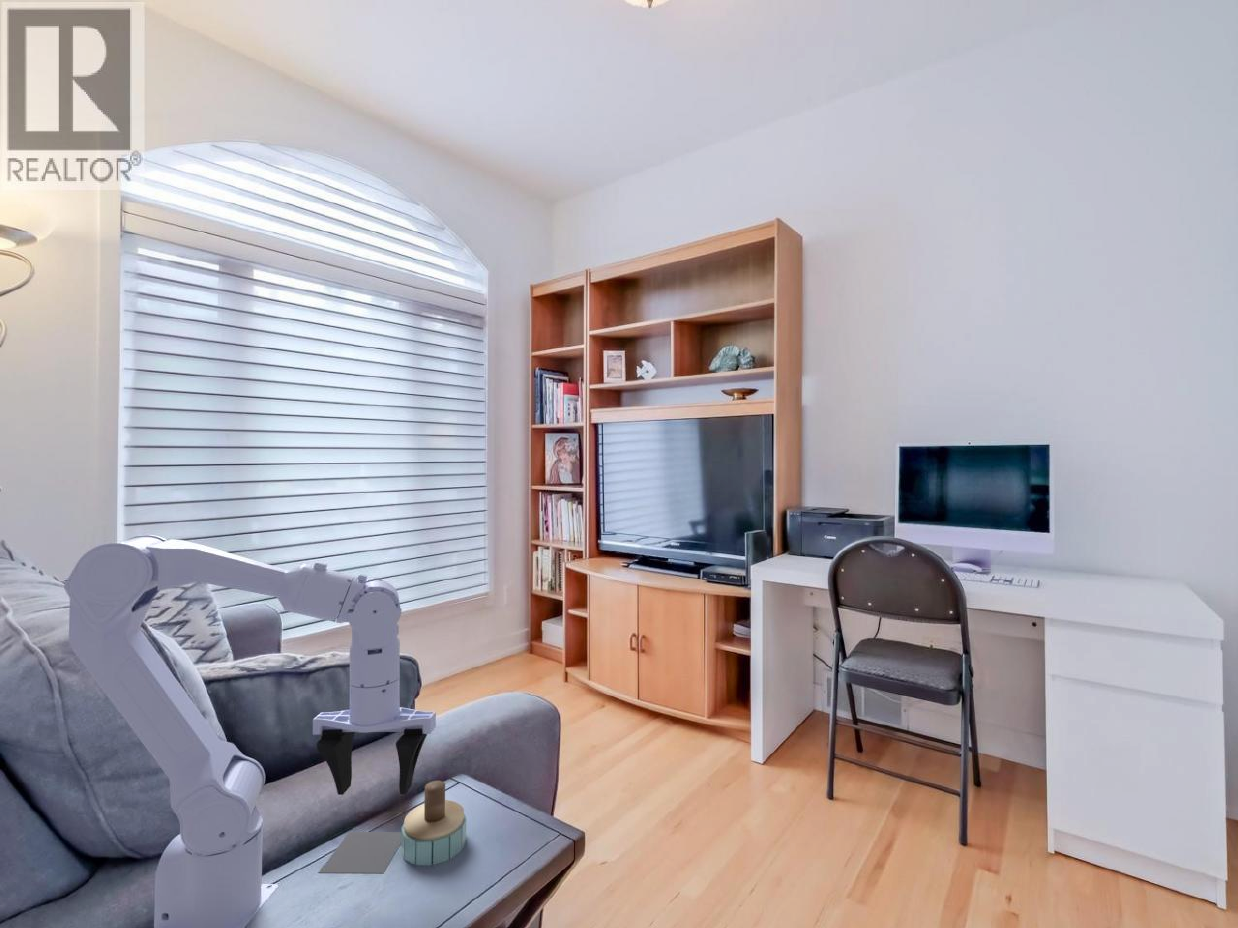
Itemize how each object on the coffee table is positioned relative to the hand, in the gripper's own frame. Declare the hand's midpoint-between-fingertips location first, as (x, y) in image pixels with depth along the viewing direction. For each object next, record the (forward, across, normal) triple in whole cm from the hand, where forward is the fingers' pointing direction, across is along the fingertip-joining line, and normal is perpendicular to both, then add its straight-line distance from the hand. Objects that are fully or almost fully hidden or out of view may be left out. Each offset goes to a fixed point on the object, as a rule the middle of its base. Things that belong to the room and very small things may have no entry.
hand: (375, 789), depth 70 cm
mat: (+10, +3, -4) cm, 11 cm away
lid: (+7, -6, -5) cm, 11 cm away
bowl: (+10, -6, -5) cm, 13 cm away
